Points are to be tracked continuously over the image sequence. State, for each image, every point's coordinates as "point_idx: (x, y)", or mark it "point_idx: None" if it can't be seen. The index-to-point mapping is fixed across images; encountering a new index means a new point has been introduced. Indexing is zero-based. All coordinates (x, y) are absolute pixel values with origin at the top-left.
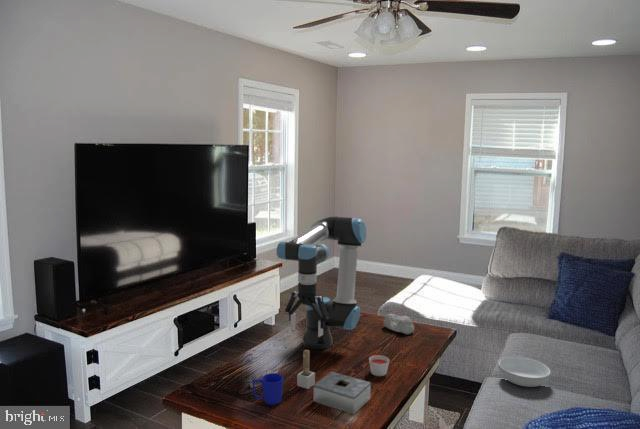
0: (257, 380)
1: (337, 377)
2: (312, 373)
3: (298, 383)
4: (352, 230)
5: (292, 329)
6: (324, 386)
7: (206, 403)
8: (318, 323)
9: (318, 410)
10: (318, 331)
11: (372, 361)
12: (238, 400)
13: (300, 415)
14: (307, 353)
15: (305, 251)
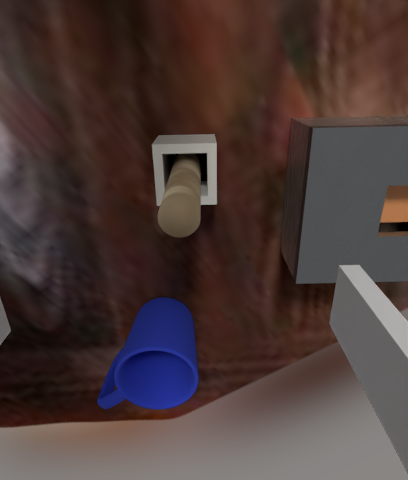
0: (116, 403)
1: (366, 170)
2: (210, 156)
3: None
4: None
5: (7, 324)
6: None
7: (26, 405)
8: (404, 462)
9: (321, 284)
10: (354, 363)
11: None
12: (78, 358)
13: (284, 330)
14: (196, 226)
15: None
